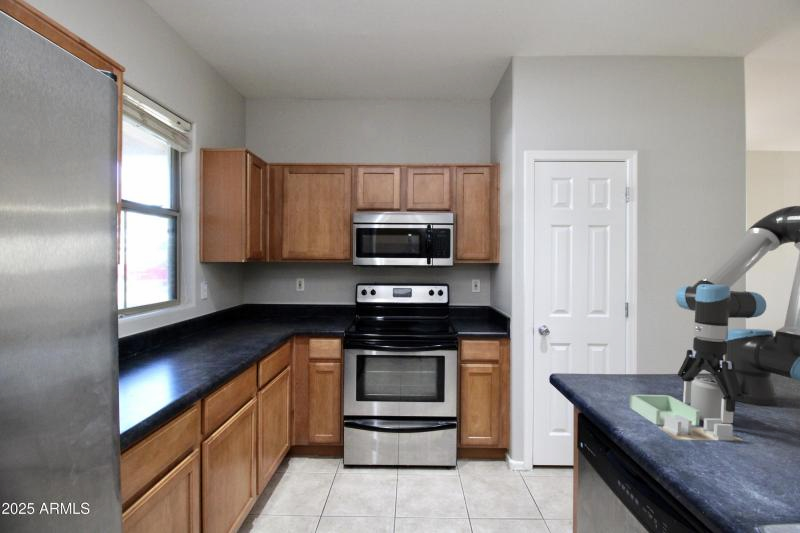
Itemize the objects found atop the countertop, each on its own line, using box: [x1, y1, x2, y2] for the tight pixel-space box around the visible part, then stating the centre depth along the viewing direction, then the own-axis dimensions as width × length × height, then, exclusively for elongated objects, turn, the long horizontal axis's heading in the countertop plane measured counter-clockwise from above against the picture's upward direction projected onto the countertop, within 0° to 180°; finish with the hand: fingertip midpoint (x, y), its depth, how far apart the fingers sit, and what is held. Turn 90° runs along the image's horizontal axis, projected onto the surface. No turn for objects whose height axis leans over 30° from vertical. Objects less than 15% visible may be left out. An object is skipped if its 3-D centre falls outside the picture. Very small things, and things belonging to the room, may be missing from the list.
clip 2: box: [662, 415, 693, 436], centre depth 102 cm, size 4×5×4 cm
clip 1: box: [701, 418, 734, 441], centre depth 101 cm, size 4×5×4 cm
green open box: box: [629, 394, 701, 426], centre depth 112 cm, size 12×12×4 cm
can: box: [690, 375, 724, 422], centre depth 111 cm, size 8×8×12 cm
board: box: [657, 426, 744, 442], centre depth 102 cm, size 17×7×1 cm, turn 91°
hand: (706, 412), depth 112 cm, fingers open, 13 cm apart
